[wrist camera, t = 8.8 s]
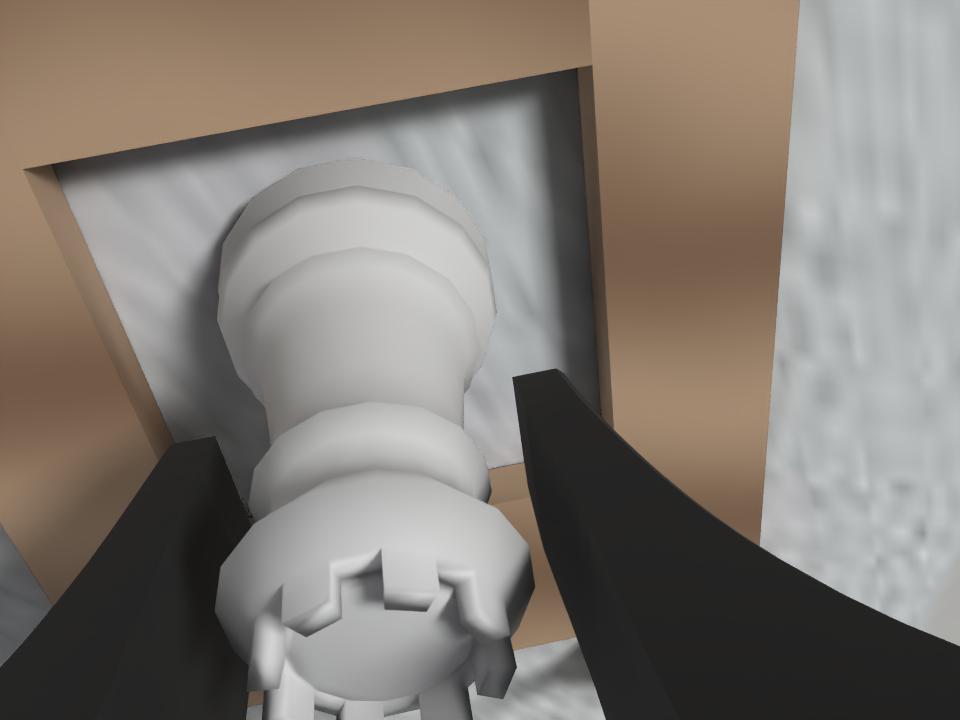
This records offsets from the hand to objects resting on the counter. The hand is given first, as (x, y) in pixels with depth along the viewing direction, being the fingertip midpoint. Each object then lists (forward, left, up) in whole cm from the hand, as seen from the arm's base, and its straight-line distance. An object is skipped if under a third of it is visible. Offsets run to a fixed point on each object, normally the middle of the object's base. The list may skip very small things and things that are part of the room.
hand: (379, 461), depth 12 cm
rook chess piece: (+1, 0, -4) cm, 4 cm away
